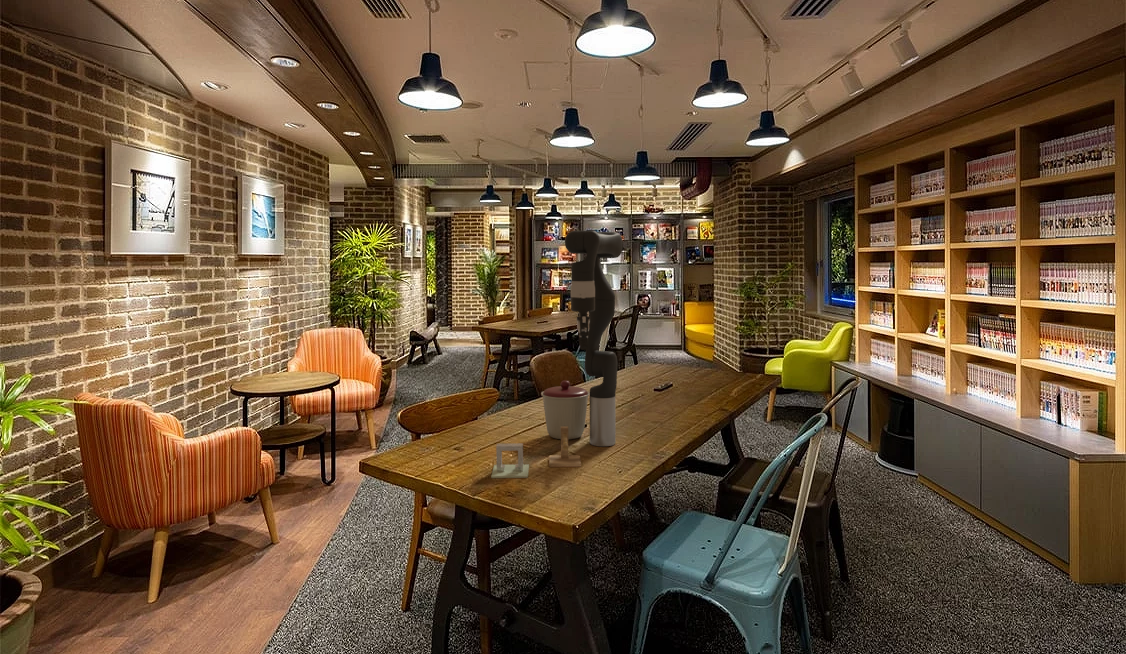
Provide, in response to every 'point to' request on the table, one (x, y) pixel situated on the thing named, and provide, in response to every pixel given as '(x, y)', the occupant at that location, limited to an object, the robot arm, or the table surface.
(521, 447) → the pinkish grey arch
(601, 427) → the robot arm
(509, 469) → the mat
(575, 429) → the canister
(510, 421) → the table surface
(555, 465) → the stand
